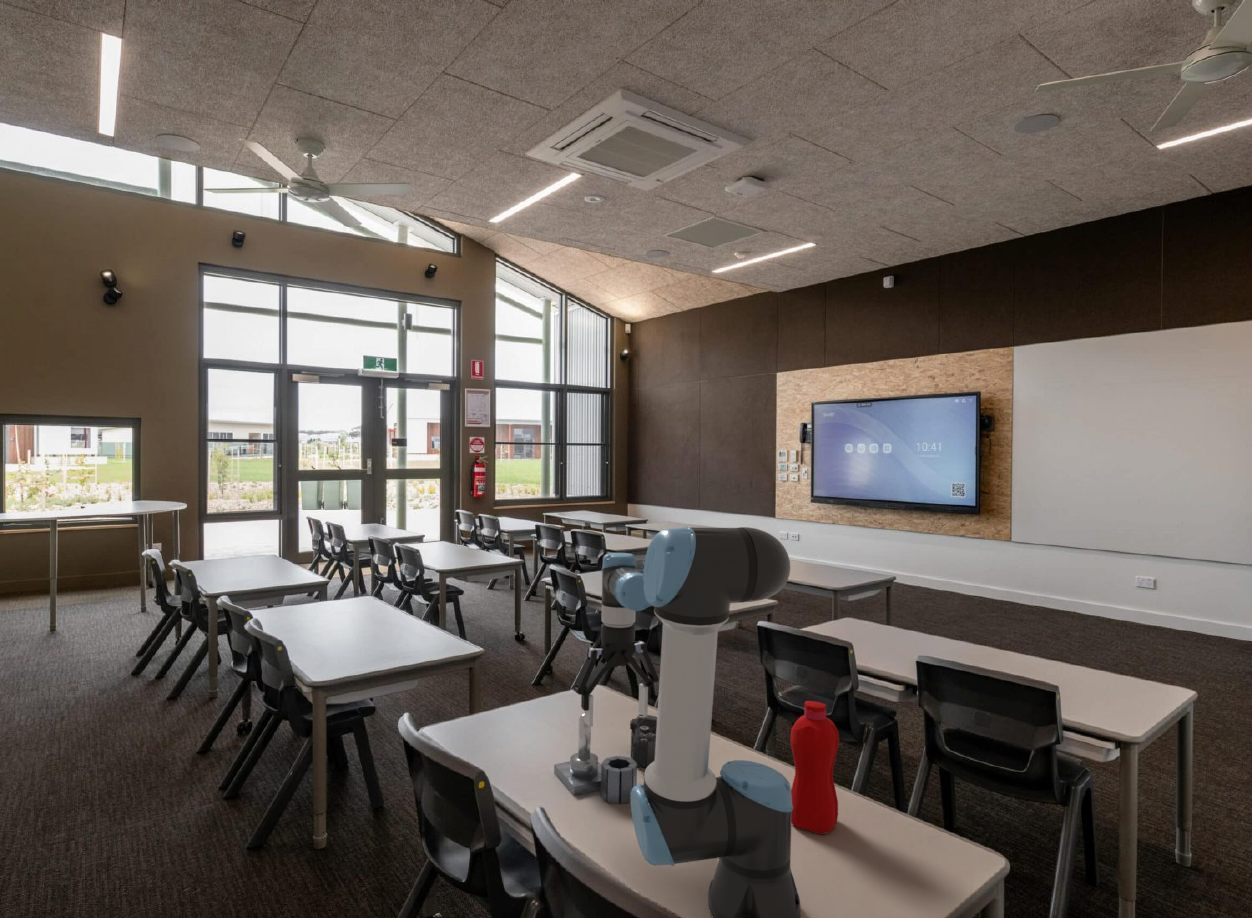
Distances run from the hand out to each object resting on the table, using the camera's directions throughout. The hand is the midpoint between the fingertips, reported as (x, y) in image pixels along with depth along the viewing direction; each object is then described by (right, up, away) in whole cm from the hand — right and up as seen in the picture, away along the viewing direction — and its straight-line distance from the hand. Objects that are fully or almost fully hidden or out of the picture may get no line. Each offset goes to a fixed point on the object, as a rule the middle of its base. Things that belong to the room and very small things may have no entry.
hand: (616, 719), depth 152 cm
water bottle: (+41, -18, -9) cm, 46 cm away
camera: (+7, -17, +20) cm, 28 cm away
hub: (0, -17, 0) cm, 17 cm away
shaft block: (-8, -17, +7) cm, 20 cm away
